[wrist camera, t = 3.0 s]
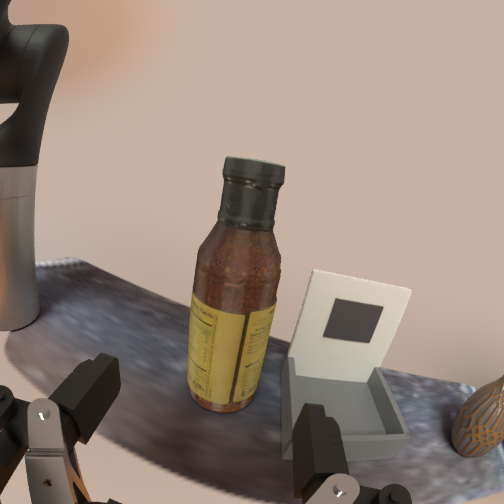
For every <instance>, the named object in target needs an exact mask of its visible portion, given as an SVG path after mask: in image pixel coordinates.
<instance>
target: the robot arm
mask: <svg viewBox="0 0 504 504" xmlns="http://www.w3.org/2000/svg"><path fill="white" fill-rule="evenodd" d="M10 2H11V0H0V104H4V103H19V105H18V107H17V109H16V110H15V112H14V113H13V114H12V115H11V116H10V117H9V118H8V119H7V120H6V121H5V122H3V123H2V124H0V331H12V330H16V329H20V328H22V327H25V326H27V325H28V324H30V323H31V322H32V321H34V320H35V319H36V317H37V316H38V314H39V312H40V305H39V298H38V289H37V278H36V265H35V247H34V208H35V188H36V177H37V167H38V165H36V164H38V160H39V152H40V146H41V140H42V134H43V130H44V125H45V120H46V115H47V112H48V108H49V104H50V101H51V98H52V94H53V91H54V88H55V85H56V82H57V80H58V77H59V74H60V71H61V68H62V65H63V62H64V59H65V56H66V52H67V48H68V43H69V33H68V30H67V28H66V27H65V26H63V25H57V24H33V25H17V26H15V25H12V24H11V23H10V22H9V20H8V5H9V4H10ZM120 387H121V381H120V371H119V361H118V359H117V358H115V357H113V356H110V355H107V354H105V353H100V354H99V355H98V356H97V357H96V358H95V359H94V361H92V360H90V359H88V360H86V361H84V362H82V363H80V364H79V365H78V366H77V367H76V368H75V369H74V370H73V372H72V373H71V374H70V375H69V376H68V378H66V379H65V380H64V381H63V382H62V384H61V385H60V386H59V387H58V388H57V389H56V390H55V391H54V392H53V394H52V395H51V396H50V397H49V398H48V399H46V398H40V399H36V400H34V401H32V402H27V401H23V400H20V399H17V398H14V396H13V394H12V392H11V390H10V389H9V388H8V387H6V386H3V385H0V431H1V432H0V495H1V493H2V491H3V489H4V487H5V486H6V484H7V483H8V480H9V479H10V477H11V476H12V474H13V472H14V471H15V469H16V468H17V466H18V464H19V463H20V461H21V460H22V458H23V456H24V455H25V464H26V472H27V479H28V485H29V491H30V497H31V502H32V504H121V503H119V502H117V501H114V500H112V499H109V500H108V502H107V503H103V502H91V500H90V497H89V494H88V492H87V490H86V488H85V485H84V482H83V479H82V475H81V472H80V468H79V464H78V460H77V455H76V451H75V447H74V446H75V444H76V442H77V441H79V442H81V443H83V444H85V445H86V444H87V442H88V441H89V439H90V438H91V436H92V434H93V433H94V431H95V430H96V428H97V427H98V425H99V423H100V422H101V420H102V419H103V417H104V416H105V414H106V413H107V411H108V409H109V408H110V406H111V405H112V403H113V402H114V400H115V399H116V397H117V396H118V394H119V391H120ZM28 449H29V451H27V450H28ZM292 451H293V481H294V498H301V499H302V502H303V504H412V501H411V497H410V494H409V492H408V490H407V489H406V488H405V487H403V486H401V485H398V484H390V485H387V486H385V487H384V488H383V489H382V490H379V489H374V488H368V487H364V486H361V485H359V484H358V482H357V481H356V480H355V479H354V478H353V477H351V476H350V475H349V471H348V466H347V461H346V456H345V451H344V446H343V441H342V437H341V432H340V427H339V425H338V423H337V422H336V421H335V419H334V418H333V417H327V416H326V414H325V409H324V405H322V404H312V403H305V404H304V406H303V408H302V410H301V412H300V414H299V416H298V418H297V420H296V422H295V425H294V427H293V432H292ZM0 504H1V500H0Z"/></svg>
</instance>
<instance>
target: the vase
mask: <svg viewBox="0 0 504 504" xmlns="http://www.w3.org/2000/svg"><path fill="white" fill-rule="evenodd" d="M451 436H452V443H453V446H454V448H455V449H456V451H457V452H458V453H460V454H461V455H463V456H466V457H478V456H482V455H484V454H486V453H488V452H490V451H491V450H493V449H494V448H495V447H497V446H498V445H499V444H500V443H501V442H502V441H503V440H504V375H503V376H502V377H500V378H499V379H498V380H496V381H493V382H491V383H489V384H487V385H485V386H483V387H481V388H480V389H478V390H477V391H476V392H474V393H473V394H472V395H471V396H470V397H469V398H468V399H467V401H466V402H465V403H464V404H463V406H462V407H461V409H460V410H459V412H458V414H457V416H456V418H455V421H454V423H453V427H452V435H451Z"/></svg>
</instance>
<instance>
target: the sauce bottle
mask: <svg viewBox="0 0 504 504" xmlns="http://www.w3.org/2000/svg"><path fill="white" fill-rule="evenodd" d="M284 176H285V166H284V165H281V164H277V163H272V162H267V161H263V160H257V159H250V158H242V157H231V156H227V157H226V159H225V163H224V168H223V178H224V186H223V193H222V199H221V206H220V210H219V212H218V221H217V223H216V224H215V226H214V227H213V229H212V230H211V232H210V233H209V235H208V237H207V238H206V239H205V240H204V242H203V243H202V245H201V246H200V248H199V250H198V255H197V263H196V269H195V277H194V284H193V291H192V301H191V311H190V325H189V343H188V366H187V380H188V389H189V391H190V393H191V395H192V397H193V398H194V400H195V401H196V402H197V403H198V404H199V405H200V406H202V407H203V408H204V409H208V410H211V411H216V412H224V413H232V412H236V411H239V410H241V409H243V408H244V407H246V406H247V405H248V404H249V403H250V402H251V400H252V399H253V394H254V392H255V390H256V388H257V385H258V381H259V377H260V373H261V368H262V364H263V360H264V355H265V351H266V346H267V342H268V337H269V333H270V329H271V324H272V320H273V315H274V310H275V306H276V302H277V297H276V294H277V288H278V284H279V280H280V273H281V269H280V263H281V255H280V253H279V250H278V247H277V243H276V240H275V236H274V233H273V227H274V224H275V221H274V215H275V210H276V204H277V198H278V192H279V189H280V187H281V186H282V185H283V184H284Z"/></svg>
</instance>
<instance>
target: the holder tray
mask: <svg viewBox="0 0 504 504" xmlns="http://www.w3.org/2000/svg"><path fill="white" fill-rule="evenodd" d="M411 293H412V291H411V290H410V289H409V288H405V287H400V286H396V285H391V284H386V283H381V282H376V281H371V280H366V279H361V278H356V277H351V276H346V275H341V274H337V273H331V272H327V271H322V270H317V269H312V272H311V276H310V280H309V283H308V287H307V291H306V294H305V297H304V301H303V304H302V308H301V311H300V315H299V318H298V321H297V325H296V328H295V331H294V334H293V338H292V341H291V344H290V347H289V350H288V353H287V356H286V359H285V362H284V365H283V368H282V371H281V428H282V459H283V460H293V451H292V432H293V427H294V425H295V422H296V420H297V418H298V416H299V414H300V412H301V410H302V408H303V406H304V404H305V403H312V404H322V405H324V409H325V414H326V416H327V417H333V418H334V419H335V421H336V422H337V423H338V425H339V427H340V432H341V437H342V441H343V446H344V451H345V456H346V461H347V462H351V461H371V460H384V459H393V458H395V457H396V456H397V455H398V454H399V453H400V452H401V450H402V449H403V448H404V447H405V446H406V444H407V443H408V442H409V441H410V440H411V438H412V437H411V434H410V432H409V430H408V428H407V425H406V423H405V421H404V419H403V416H402V414H401V412H400V410H399V408H398V405H397V403H396V401H395V399H394V397H393V395H392V393H391V390H390V388H389V386H388V384H387V382H386V380H385V378H384V376H383V374H382V372H381V370H380V368H379V367H380V365H381V363H382V361H383V359H384V357H385V355H386V352H387V350H388V348H389V346H390V344H391V342H392V339H393V337H394V335H395V333H396V330H397V328H398V326H399V323H400V321H401V319H402V316H403V313H404V311H405V309H406V306H407V303H408V301H409V298H410V295H411Z"/></svg>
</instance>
